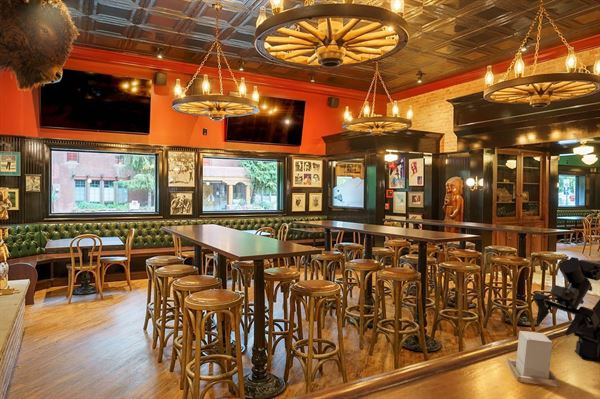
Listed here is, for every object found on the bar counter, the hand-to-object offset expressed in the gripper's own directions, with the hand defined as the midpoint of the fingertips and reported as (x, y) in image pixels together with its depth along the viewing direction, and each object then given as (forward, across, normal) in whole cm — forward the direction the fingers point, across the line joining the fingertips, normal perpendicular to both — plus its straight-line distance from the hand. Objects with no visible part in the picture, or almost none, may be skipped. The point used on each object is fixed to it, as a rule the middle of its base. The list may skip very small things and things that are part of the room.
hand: (551, 329), depth 132 cm
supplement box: (+16, 0, +4) cm, 16 cm away
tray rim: (+15, 0, +4) cm, 16 cm away
